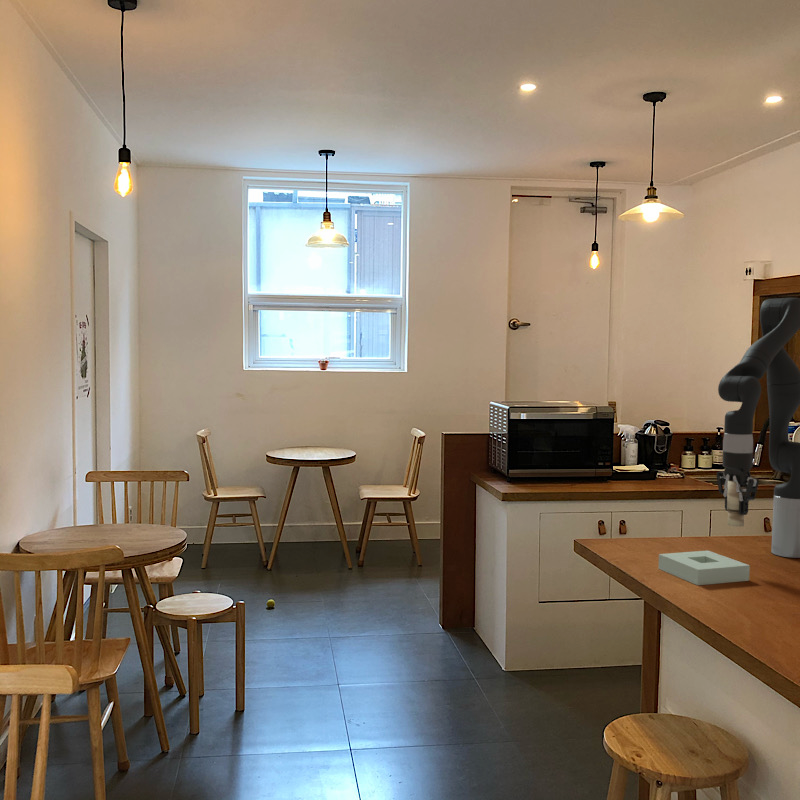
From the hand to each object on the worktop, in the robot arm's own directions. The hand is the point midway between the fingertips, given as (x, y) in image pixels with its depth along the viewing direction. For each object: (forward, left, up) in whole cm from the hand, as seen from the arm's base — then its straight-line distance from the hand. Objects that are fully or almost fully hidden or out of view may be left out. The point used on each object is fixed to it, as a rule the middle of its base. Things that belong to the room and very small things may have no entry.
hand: (736, 512), depth 219 cm
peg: (0, 0, -3) cm, 3 cm away
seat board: (+12, +2, -16) cm, 20 cm away
